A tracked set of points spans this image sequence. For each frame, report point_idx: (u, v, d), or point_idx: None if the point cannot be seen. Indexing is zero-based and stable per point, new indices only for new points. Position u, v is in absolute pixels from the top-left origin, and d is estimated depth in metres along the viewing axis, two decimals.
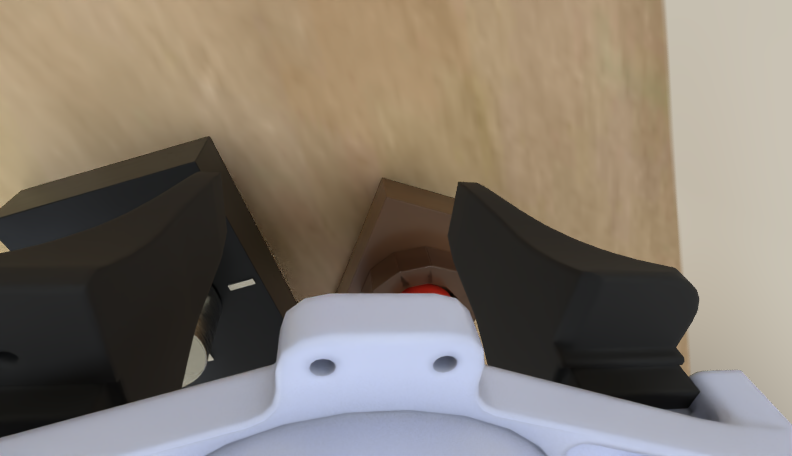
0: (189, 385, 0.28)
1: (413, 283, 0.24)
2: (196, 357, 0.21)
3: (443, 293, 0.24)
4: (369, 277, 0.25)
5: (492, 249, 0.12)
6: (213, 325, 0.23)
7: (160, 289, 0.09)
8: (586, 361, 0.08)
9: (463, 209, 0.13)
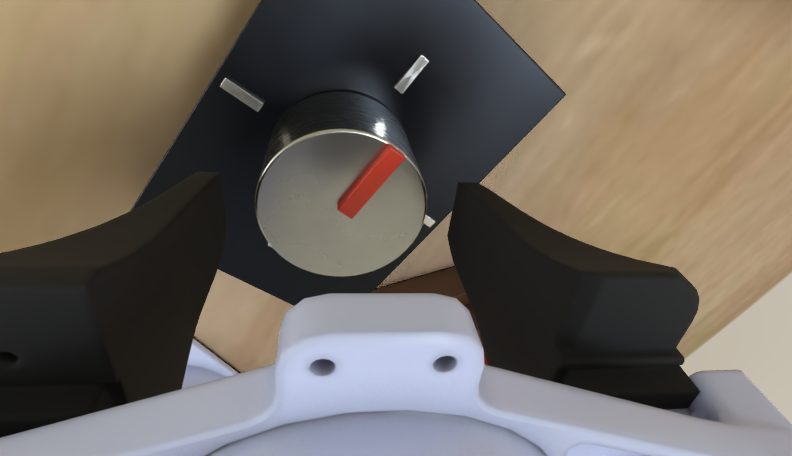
0: None
1: None
2: (376, 259, 0.15)
3: None
4: None
5: (492, 249, 0.12)
6: None
7: (159, 289, 0.09)
8: (586, 361, 0.08)
9: (463, 209, 0.13)
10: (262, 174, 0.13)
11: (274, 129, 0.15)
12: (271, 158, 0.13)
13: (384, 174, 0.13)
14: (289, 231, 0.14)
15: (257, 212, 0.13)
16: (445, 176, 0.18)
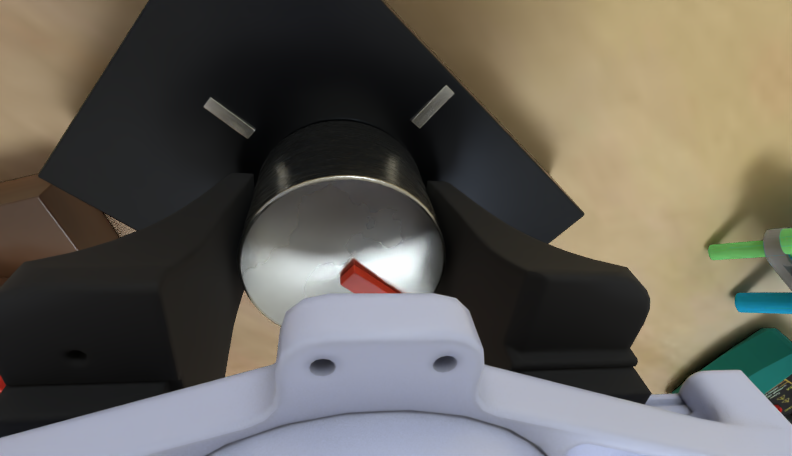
0: None
1: None
2: (269, 300, 0.12)
3: None
4: None
5: (455, 248, 0.11)
6: None
7: (209, 289, 0.09)
8: (536, 362, 0.08)
9: None
10: (404, 191, 0.10)
11: (393, 141, 0.13)
12: (420, 200, 0.11)
13: None
14: (318, 212, 0.10)
15: (352, 179, 0.10)
16: None
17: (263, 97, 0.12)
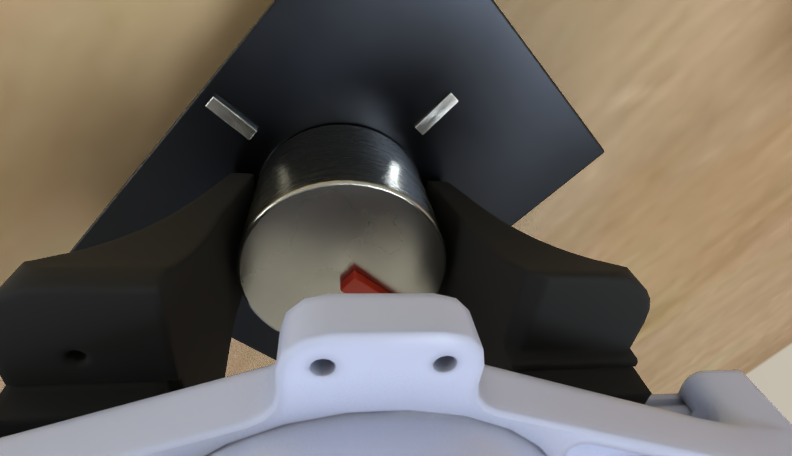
0: None
1: None
2: (269, 306, 0.11)
3: None
4: None
5: (455, 248, 0.11)
6: None
7: (209, 289, 0.09)
8: (536, 363, 0.08)
9: None
10: (405, 196, 0.10)
11: (393, 144, 0.13)
12: (421, 205, 0.11)
13: None
14: (318, 217, 0.10)
15: (351, 184, 0.10)
16: None
17: None
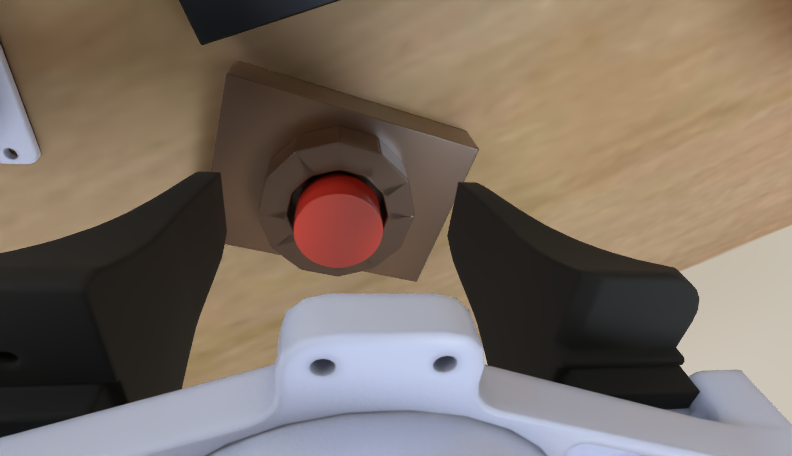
0: None
1: (389, 200, 0.19)
2: None
3: None
4: (372, 138, 0.19)
5: (492, 249, 0.12)
6: None
7: (159, 289, 0.09)
8: (586, 361, 0.08)
9: (463, 209, 0.13)
10: None
11: None
12: None
13: None
14: None
15: None
16: None
17: None
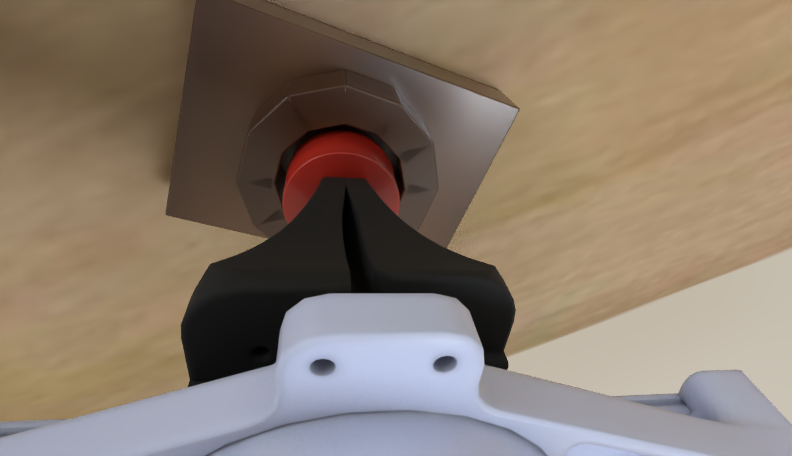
0: None
1: (408, 167, 0.15)
2: None
3: None
4: (388, 87, 0.15)
5: (355, 247, 0.11)
6: None
7: None
8: None
9: (345, 205, 0.13)
10: None
11: None
12: None
13: None
14: None
15: None
16: None
17: None
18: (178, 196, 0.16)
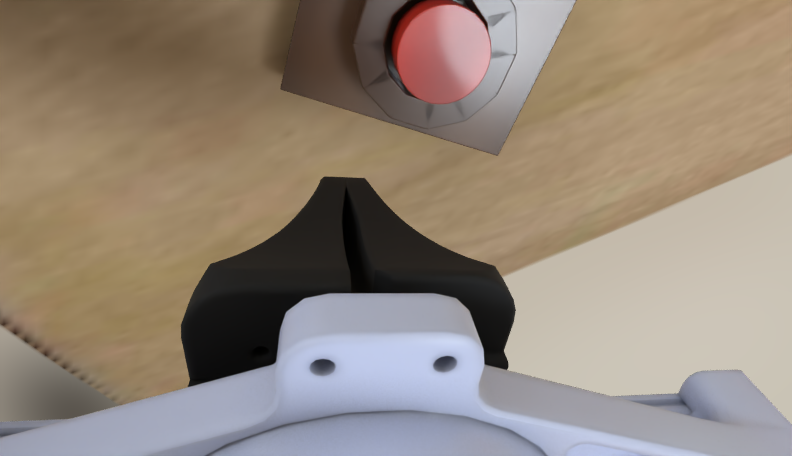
0: None
1: (493, 31, 0.18)
2: None
3: None
4: None
5: (355, 247, 0.11)
6: None
7: None
8: None
9: (345, 205, 0.13)
10: None
11: None
12: None
13: None
14: None
15: None
16: None
17: None
18: (293, 71, 0.19)
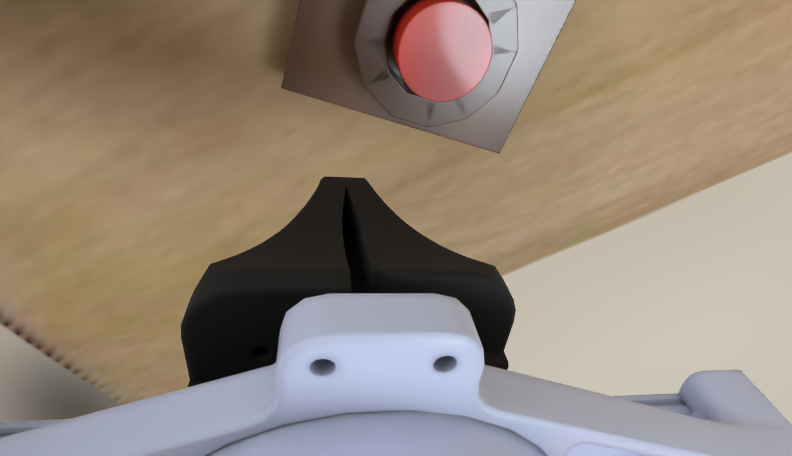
0: None
1: (494, 28, 0.18)
2: None
3: None
4: None
5: (355, 247, 0.11)
6: None
7: None
8: None
9: (345, 205, 0.13)
10: None
11: None
12: None
13: None
14: None
15: None
16: None
17: None
18: (293, 69, 0.19)
